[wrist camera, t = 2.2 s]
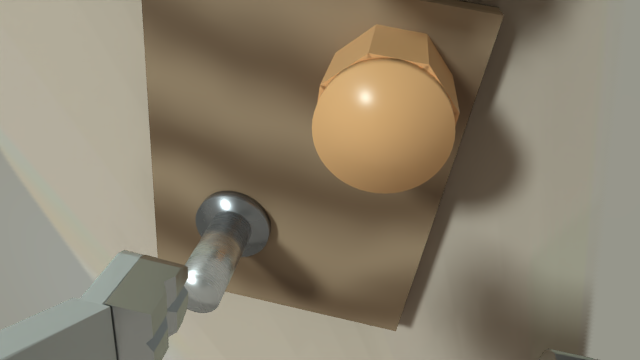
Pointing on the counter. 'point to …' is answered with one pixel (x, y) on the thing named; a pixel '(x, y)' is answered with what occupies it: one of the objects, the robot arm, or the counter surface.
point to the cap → (386, 111)
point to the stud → (223, 245)
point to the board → (293, 142)
